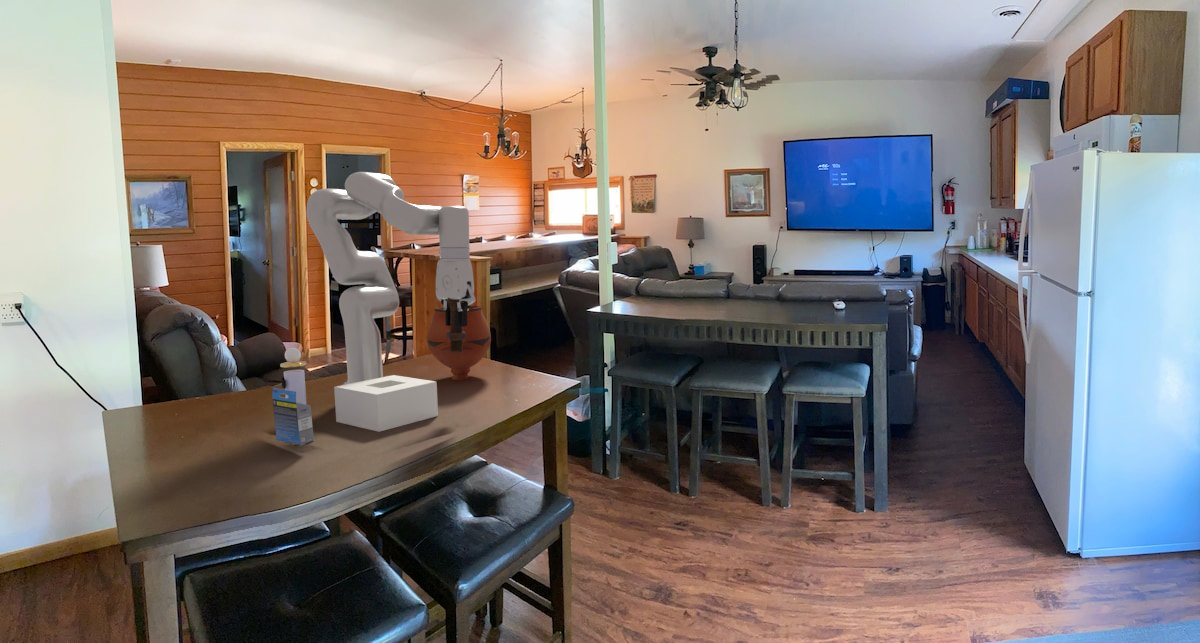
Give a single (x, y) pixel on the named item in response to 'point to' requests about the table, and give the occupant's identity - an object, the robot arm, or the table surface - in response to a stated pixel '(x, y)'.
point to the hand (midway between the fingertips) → (456, 325)
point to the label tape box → (291, 418)
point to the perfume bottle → (294, 375)
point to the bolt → (455, 328)
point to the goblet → (472, 344)
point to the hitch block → (386, 402)
